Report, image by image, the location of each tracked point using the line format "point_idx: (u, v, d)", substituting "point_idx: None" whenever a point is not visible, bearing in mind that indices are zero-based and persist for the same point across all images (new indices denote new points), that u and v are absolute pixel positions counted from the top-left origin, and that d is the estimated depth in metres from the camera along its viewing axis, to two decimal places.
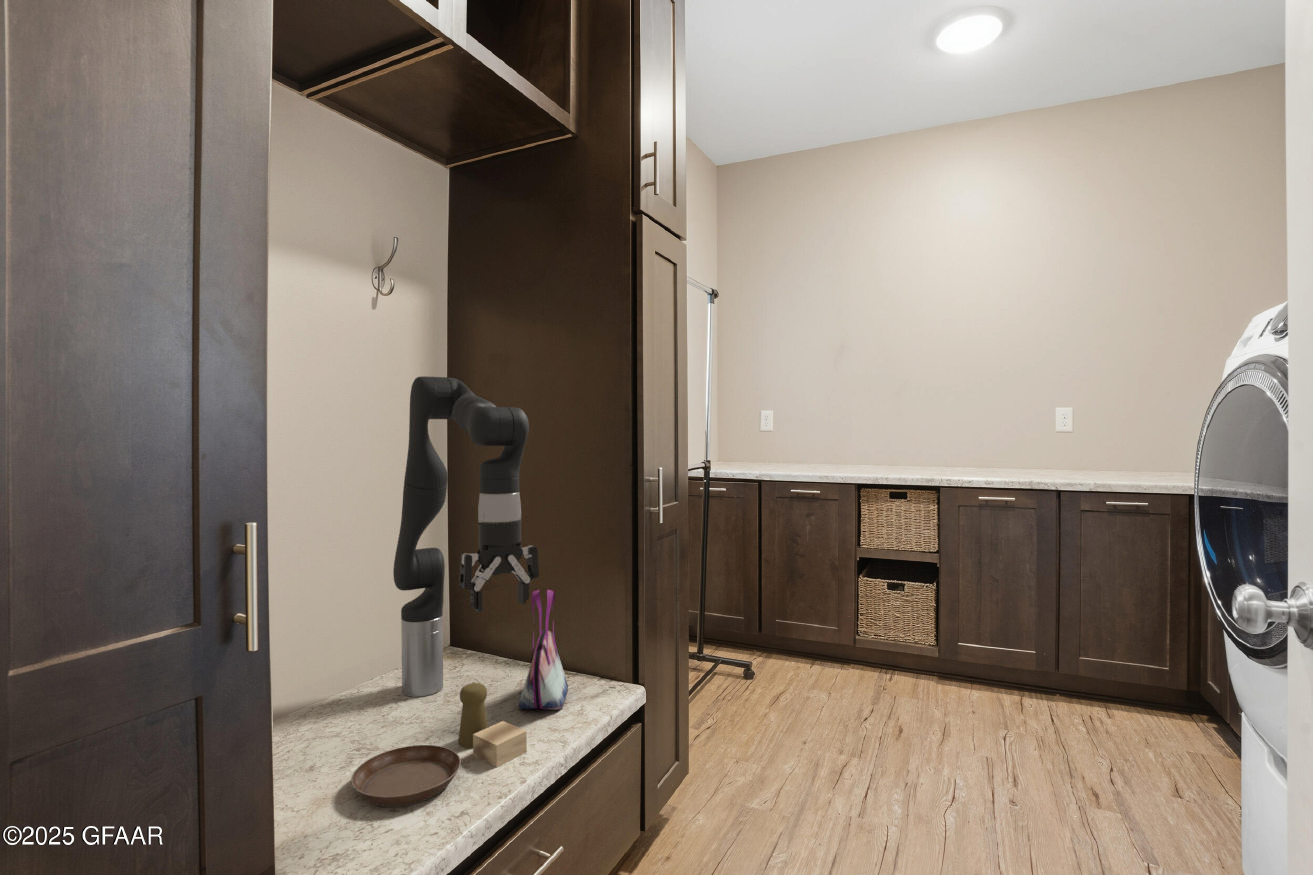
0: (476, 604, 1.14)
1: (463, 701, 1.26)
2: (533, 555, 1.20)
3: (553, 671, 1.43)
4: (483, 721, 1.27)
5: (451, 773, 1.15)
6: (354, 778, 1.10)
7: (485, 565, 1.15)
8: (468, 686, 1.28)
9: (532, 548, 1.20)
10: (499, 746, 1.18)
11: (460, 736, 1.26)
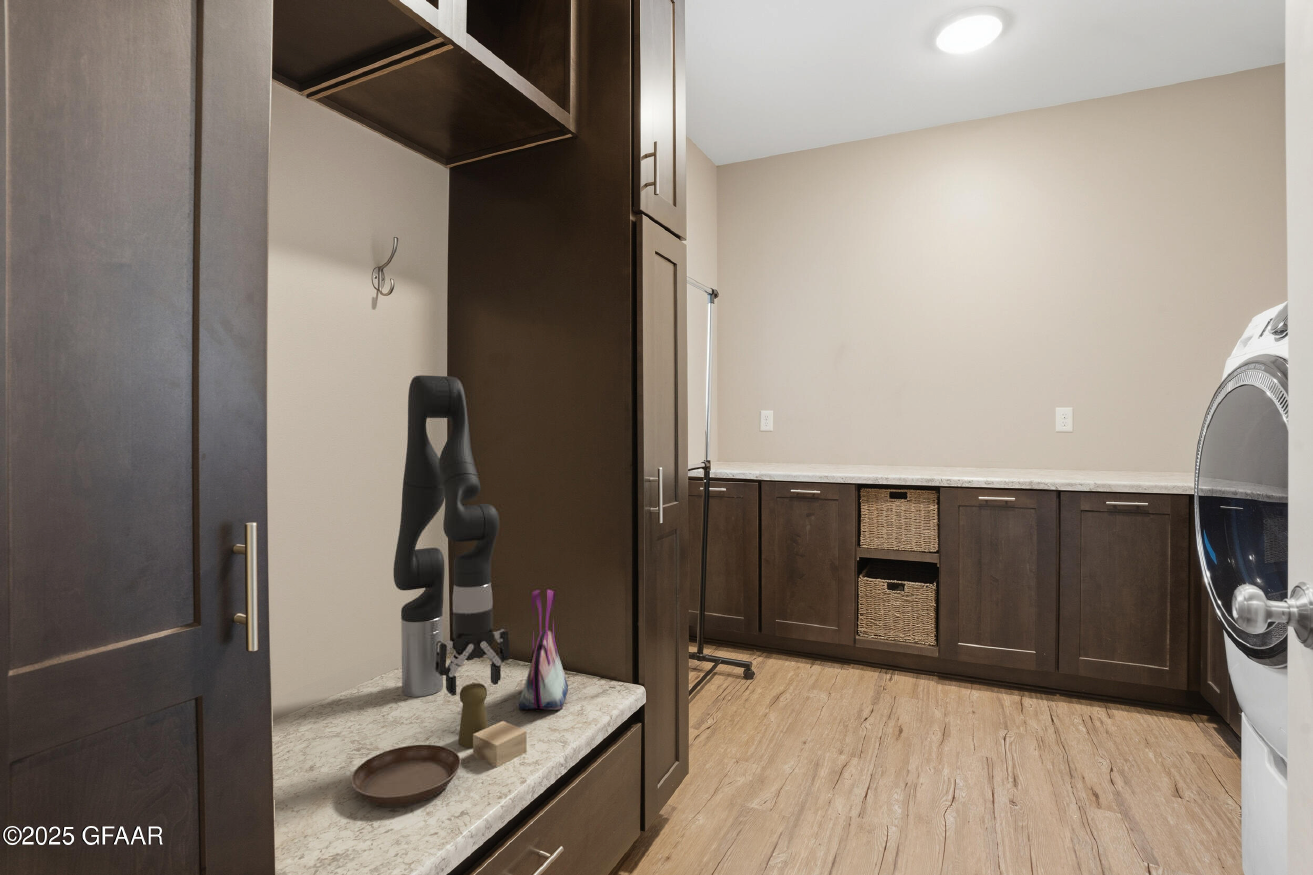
0: (451, 688, 1.24)
1: (463, 701, 1.26)
2: (504, 639, 1.30)
3: (553, 671, 1.43)
4: (483, 721, 1.27)
5: (451, 773, 1.15)
6: (354, 778, 1.10)
7: (459, 652, 1.25)
8: (468, 686, 1.28)
9: (503, 633, 1.30)
10: (499, 746, 1.18)
11: (460, 736, 1.26)
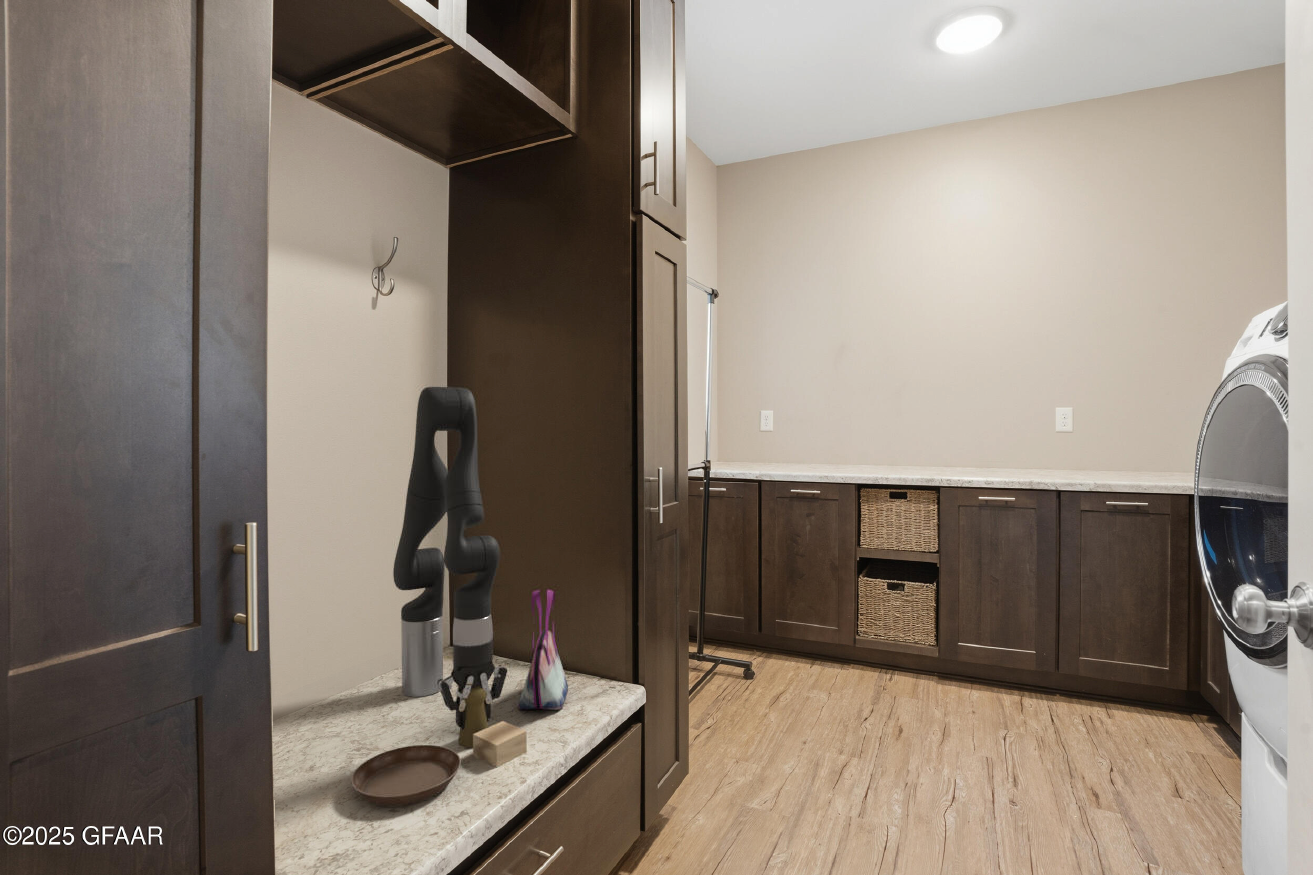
0: (460, 722, 1.26)
1: None
2: (502, 676, 1.30)
3: (553, 671, 1.43)
4: (483, 721, 1.27)
5: (451, 773, 1.15)
6: (354, 778, 1.10)
7: (461, 687, 1.26)
8: None
9: (503, 669, 1.31)
10: (499, 746, 1.18)
11: (460, 736, 1.26)
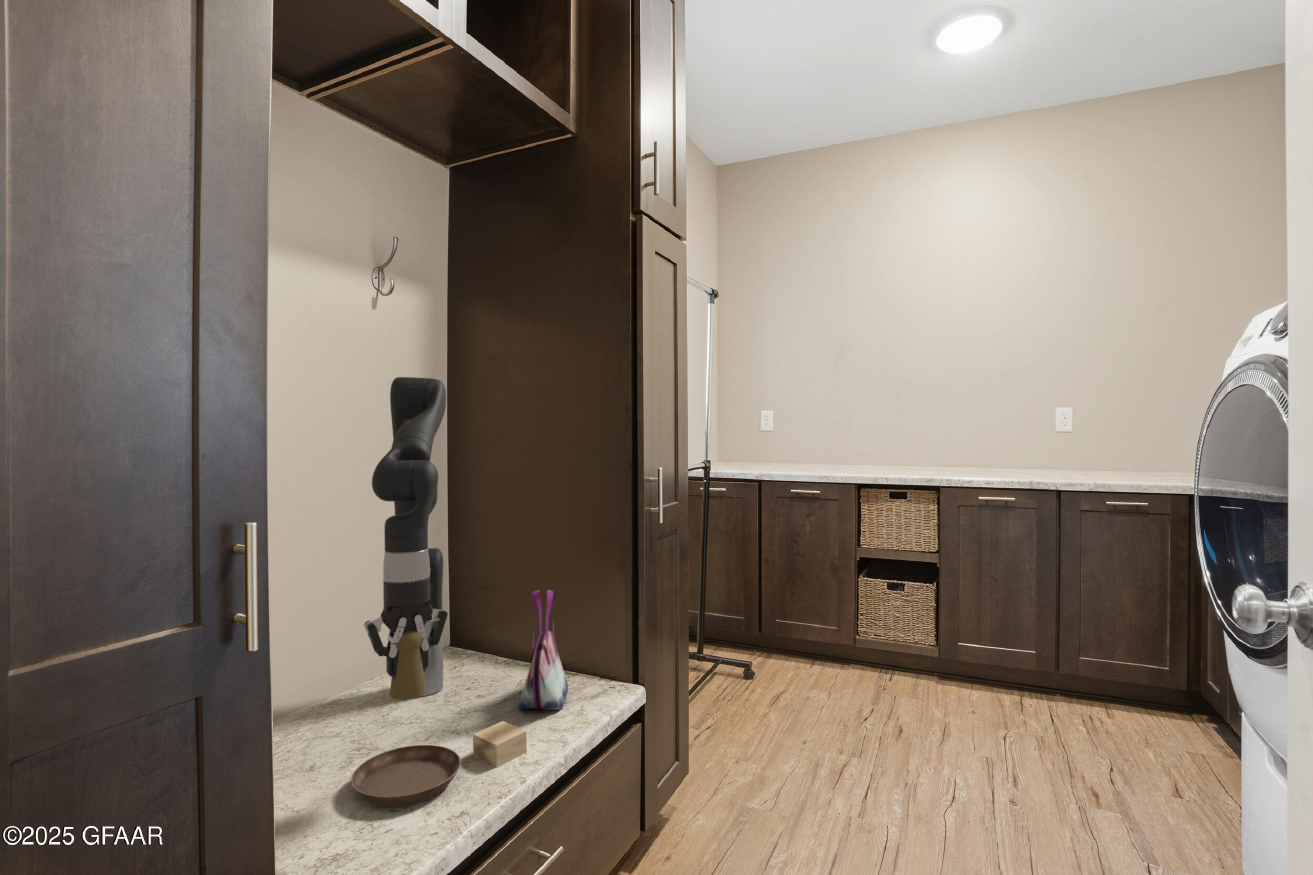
0: (392, 671, 1.10)
1: None
2: (441, 620, 1.15)
3: (553, 671, 1.43)
4: (418, 669, 1.11)
5: (451, 773, 1.15)
6: (354, 778, 1.10)
7: (392, 630, 1.10)
8: None
9: (442, 612, 1.15)
10: (499, 746, 1.18)
11: (391, 686, 1.11)
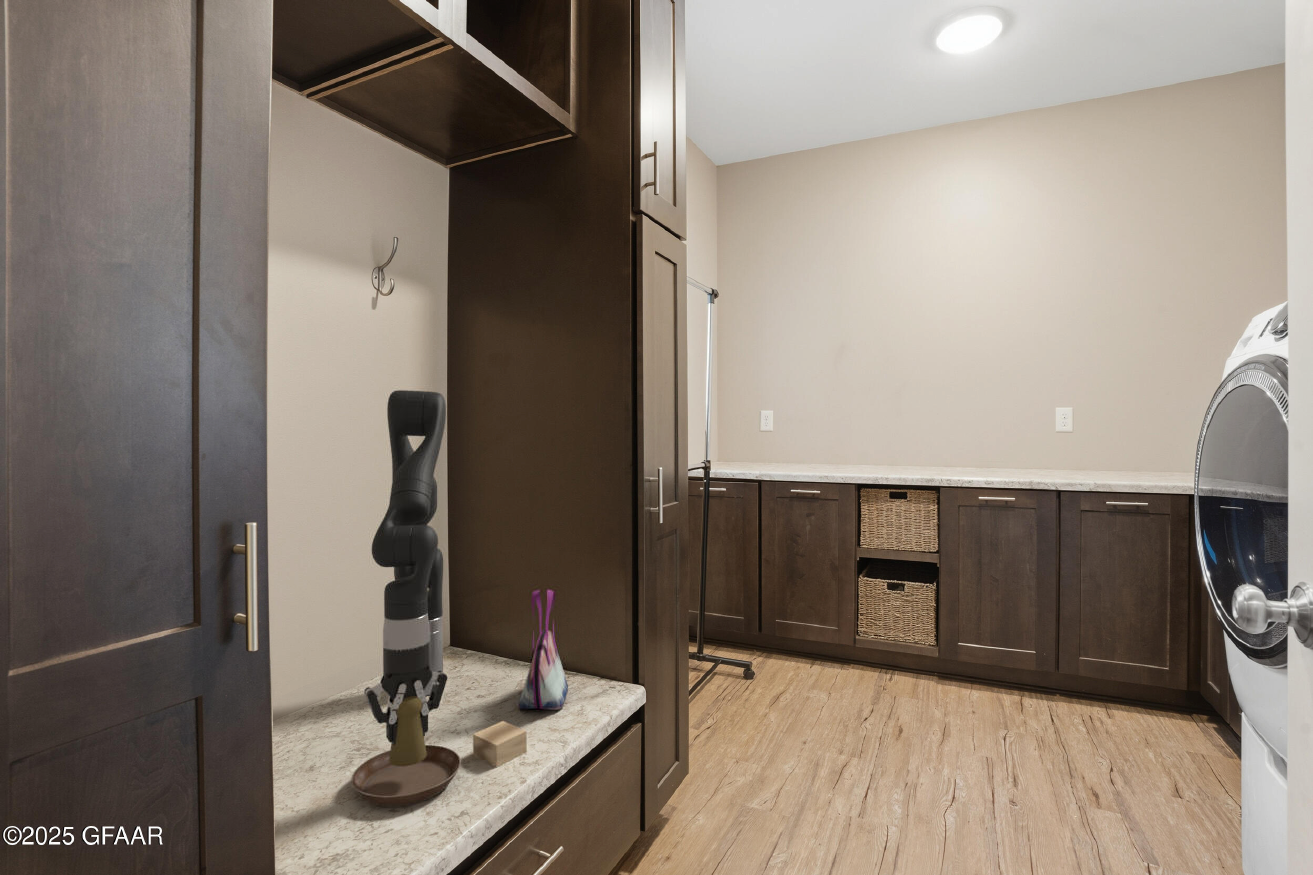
0: (391, 737, 1.10)
1: None
2: (440, 683, 1.15)
3: (553, 671, 1.43)
4: (418, 735, 1.11)
5: (451, 773, 1.15)
6: (354, 778, 1.10)
7: (392, 696, 1.10)
8: None
9: (442, 676, 1.15)
10: (499, 746, 1.18)
11: (391, 752, 1.11)
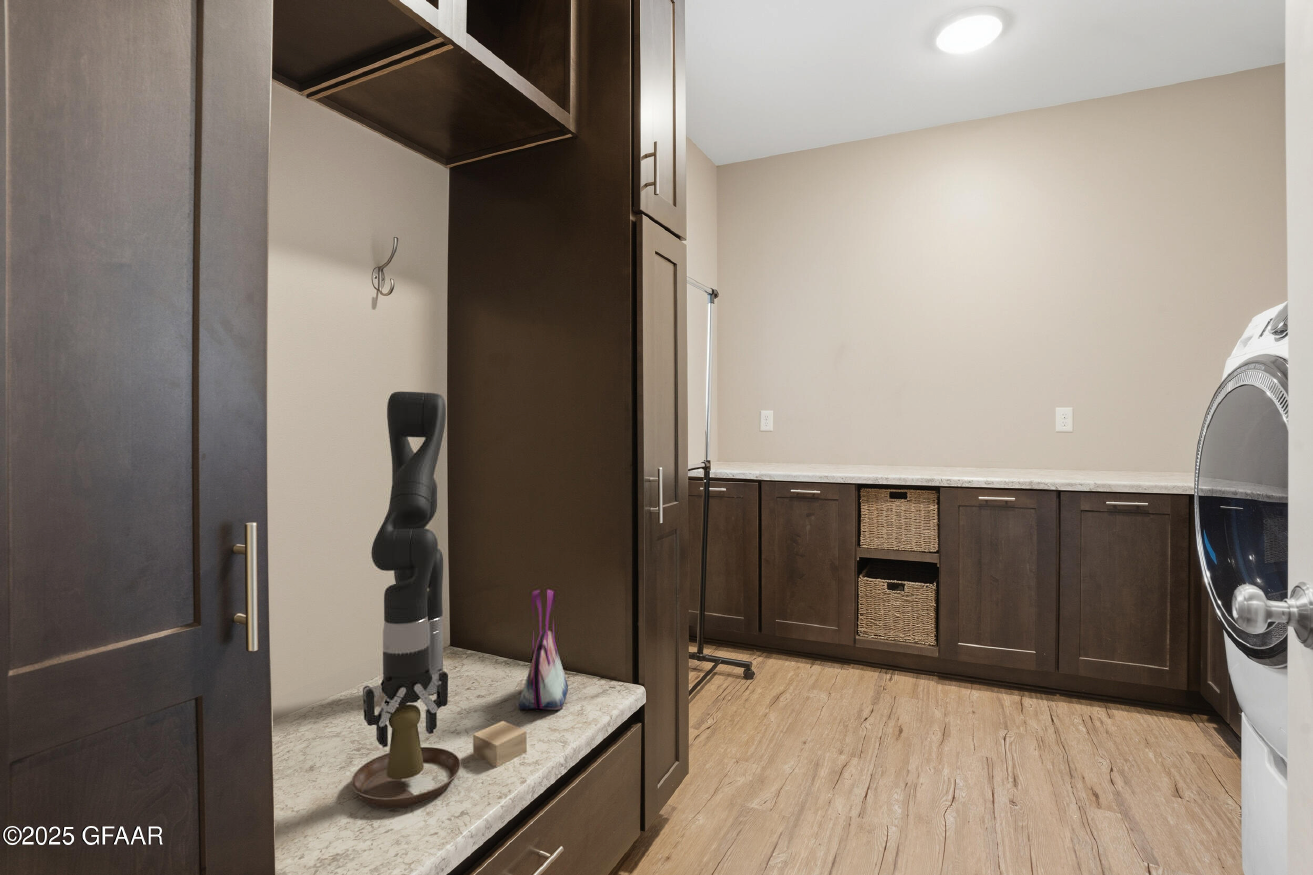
0: (381, 739, 1.09)
1: (392, 726, 1.10)
2: (443, 682, 1.15)
3: (553, 671, 1.43)
4: (415, 748, 1.11)
5: (451, 775, 1.15)
6: (354, 780, 1.10)
7: (389, 697, 1.10)
8: (398, 708, 1.12)
9: (442, 674, 1.15)
10: (499, 746, 1.18)
11: (389, 765, 1.11)
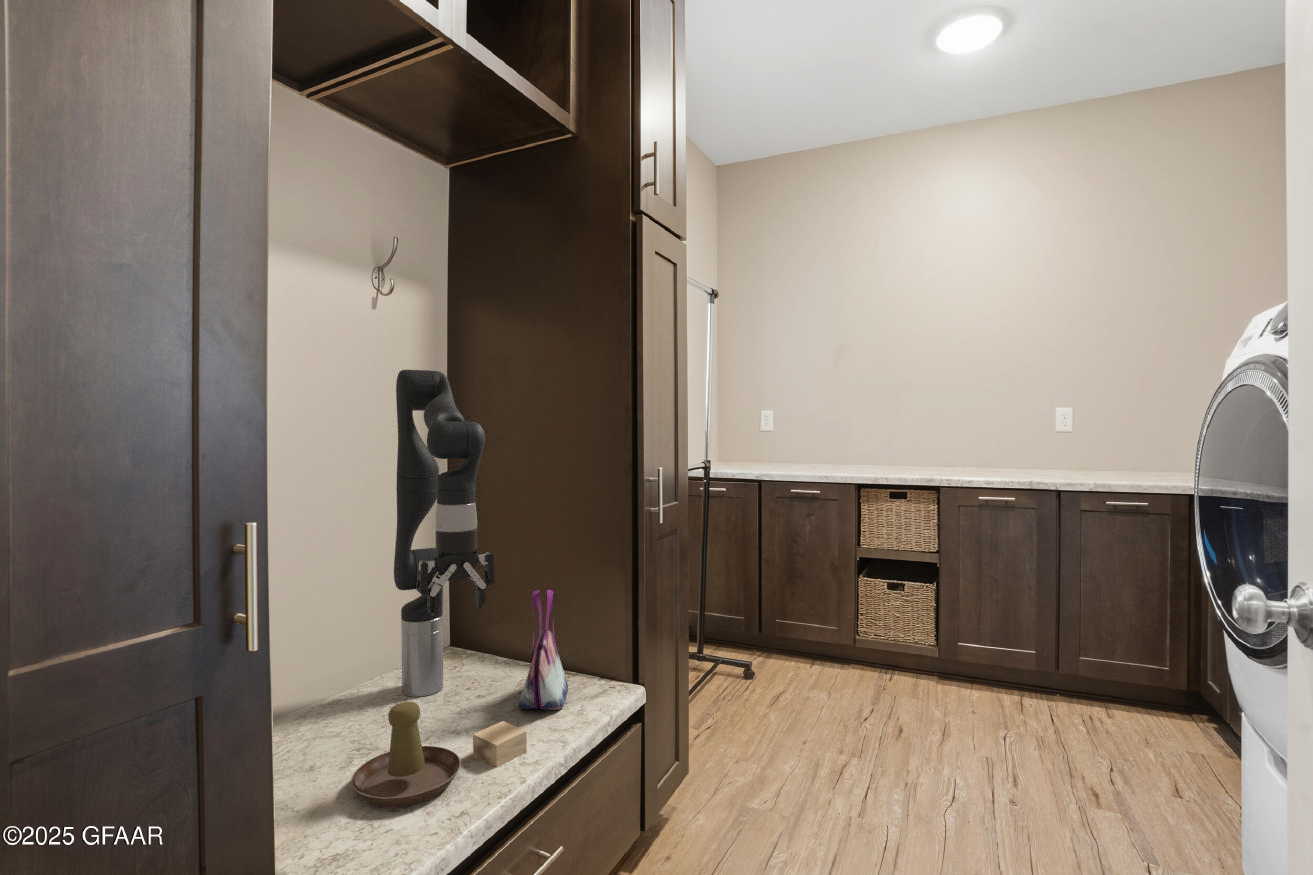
0: (432, 609, 1.20)
1: (391, 723, 1.11)
2: (489, 562, 1.26)
3: (553, 671, 1.43)
4: (414, 745, 1.11)
5: (451, 774, 1.15)
6: (354, 779, 1.10)
7: (441, 572, 1.21)
8: (398, 705, 1.12)
9: (488, 555, 1.26)
10: (499, 746, 1.18)
11: (389, 763, 1.11)
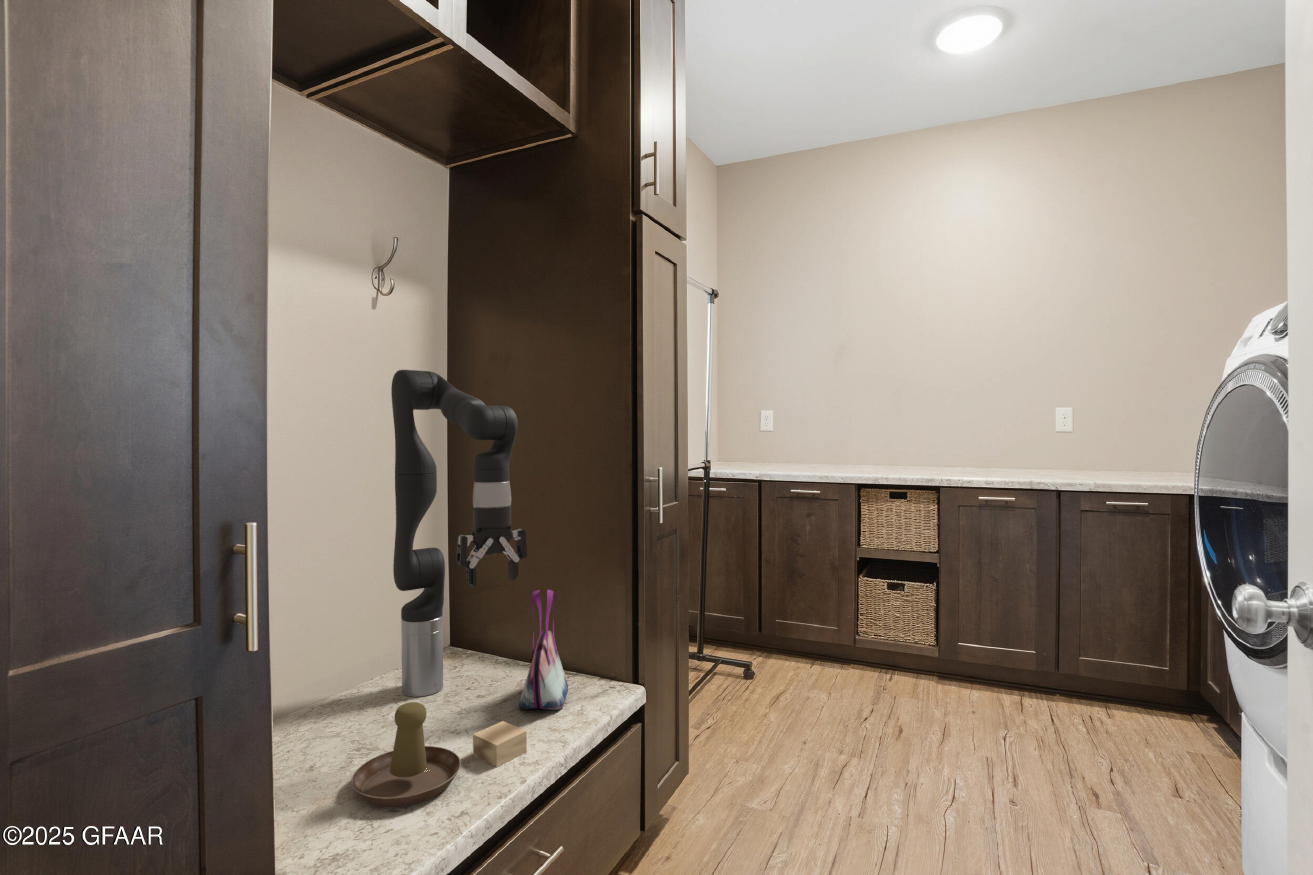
0: (471, 580, 1.29)
1: (396, 722, 1.11)
2: (522, 537, 1.35)
3: (553, 671, 1.43)
4: (417, 748, 1.11)
5: (451, 774, 1.15)
6: (354, 779, 1.10)
7: (479, 545, 1.30)
8: (405, 706, 1.12)
9: (521, 531, 1.35)
10: (499, 746, 1.18)
11: (391, 761, 1.11)
